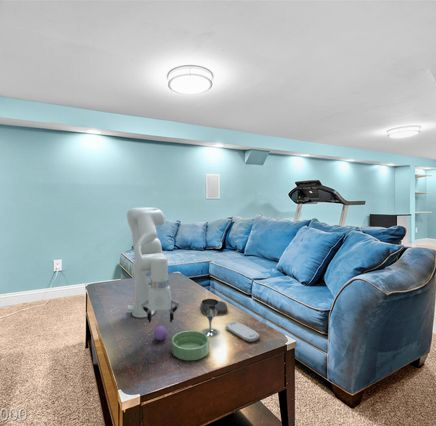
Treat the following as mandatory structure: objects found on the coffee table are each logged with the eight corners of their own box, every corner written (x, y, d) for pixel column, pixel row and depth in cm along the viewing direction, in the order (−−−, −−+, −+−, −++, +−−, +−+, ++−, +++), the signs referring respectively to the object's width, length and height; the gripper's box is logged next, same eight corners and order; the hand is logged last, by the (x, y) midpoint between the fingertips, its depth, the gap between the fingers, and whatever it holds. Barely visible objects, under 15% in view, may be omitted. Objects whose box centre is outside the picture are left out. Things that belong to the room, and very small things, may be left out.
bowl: (170, 361, 106) (169, 349, 106) (173, 341, 122) (173, 330, 122) (209, 362, 106) (209, 349, 106) (208, 341, 122) (208, 330, 121)
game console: (223, 323, 134) (235, 319, 138) (223, 328, 134) (235, 324, 138) (249, 339, 118) (262, 334, 123) (249, 344, 118) (262, 339, 123)
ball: (152, 343, 121) (152, 330, 120) (155, 336, 127) (154, 323, 126) (166, 343, 120) (166, 330, 120) (167, 336, 126) (167, 323, 126)
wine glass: (213, 338, 124) (213, 306, 124) (199, 333, 128) (198, 302, 128) (221, 331, 131) (221, 300, 130) (207, 327, 135) (206, 297, 135)
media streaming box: (228, 314, 150) (228, 309, 150) (202, 315, 149) (202, 310, 149) (223, 304, 164) (223, 299, 164) (199, 305, 163) (199, 300, 163)
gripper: (138, 286, 119) (139, 325, 119) (178, 286, 118) (178, 324, 119) (142, 281, 126) (143, 318, 127) (179, 281, 126) (180, 317, 126)
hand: (160, 321), depth 123 cm, fingers open, 9 cm apart
